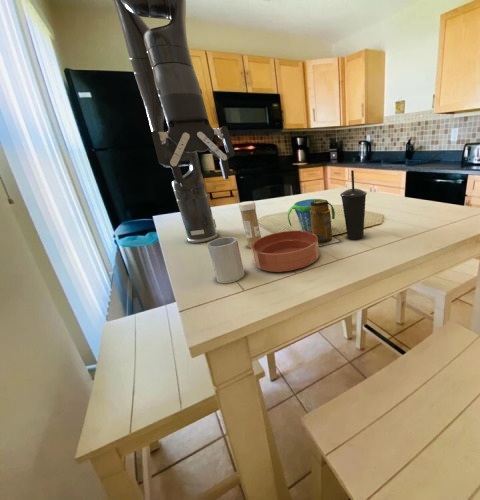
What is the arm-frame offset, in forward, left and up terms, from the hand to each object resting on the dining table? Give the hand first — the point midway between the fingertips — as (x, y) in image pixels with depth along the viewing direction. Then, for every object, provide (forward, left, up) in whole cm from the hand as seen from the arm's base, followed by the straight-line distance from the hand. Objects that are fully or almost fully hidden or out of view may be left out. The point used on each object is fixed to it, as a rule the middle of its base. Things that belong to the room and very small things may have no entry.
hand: (205, 182), depth 57 cm
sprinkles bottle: (-19, +3, -22) cm, 30 cm away
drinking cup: (-18, +34, -22) cm, 44 cm away
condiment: (-18, +24, -22) cm, 37 cm away
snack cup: (-27, +21, -22) cm, 41 cm away
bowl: (-7, +14, -22) cm, 27 cm away
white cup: (+1, +1, -22) cm, 22 cm away
